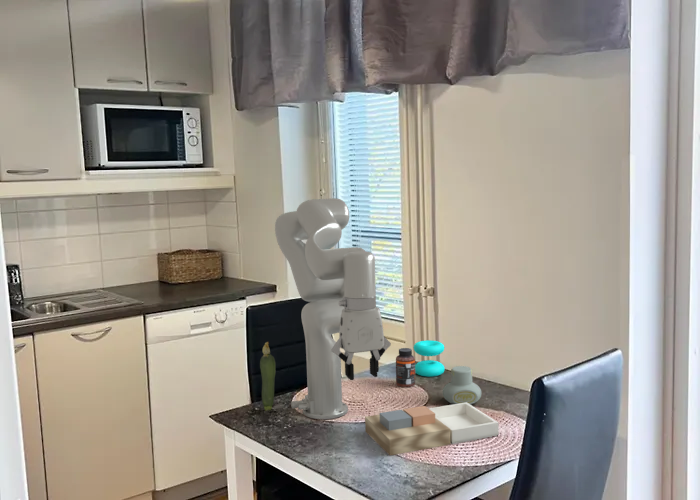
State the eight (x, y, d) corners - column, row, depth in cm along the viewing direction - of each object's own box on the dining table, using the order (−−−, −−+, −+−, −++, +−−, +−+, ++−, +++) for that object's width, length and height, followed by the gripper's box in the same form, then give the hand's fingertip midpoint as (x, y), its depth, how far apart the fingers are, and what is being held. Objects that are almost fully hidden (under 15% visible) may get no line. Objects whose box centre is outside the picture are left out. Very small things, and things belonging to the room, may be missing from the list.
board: (389, 455, 164) (389, 439, 163) (365, 431, 179) (365, 416, 178) (450, 444, 169) (450, 428, 169) (421, 422, 184) (421, 407, 184)
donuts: (450, 344, 223) (422, 348, 219) (450, 374, 224) (423, 379, 220) (434, 337, 232) (407, 341, 228) (434, 367, 233) (408, 371, 229)
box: (452, 444, 169) (452, 430, 169) (423, 422, 184) (423, 409, 184) (498, 435, 174) (498, 422, 173) (466, 414, 189) (466, 402, 188)
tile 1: (389, 430, 169) (388, 421, 168) (379, 422, 174) (379, 412, 174) (411, 426, 171) (411, 417, 170) (401, 418, 176) (401, 409, 176)
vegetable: (262, 407, 199) (259, 339, 196) (277, 406, 199) (274, 338, 197) (261, 413, 194) (258, 343, 192) (277, 412, 195) (274, 342, 192)
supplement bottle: (414, 388, 212) (413, 352, 210) (394, 387, 213) (394, 351, 211) (416, 382, 217) (415, 347, 216) (397, 381, 219) (396, 346, 217)
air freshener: (477, 397, 202) (477, 363, 201) (484, 407, 194) (484, 372, 193) (440, 398, 202) (440, 365, 201) (445, 408, 194) (444, 373, 193)
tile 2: (413, 426, 171) (413, 417, 171) (403, 418, 176) (403, 409, 176) (435, 422, 173) (435, 413, 173) (424, 414, 178) (424, 405, 178)
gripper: (331, 309, 159) (333, 386, 162) (399, 302, 165) (400, 376, 167) (321, 304, 166) (323, 377, 169) (387, 297, 172) (388, 368, 174)
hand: (362, 376), depth 168 cm, fingers open, 5 cm apart
